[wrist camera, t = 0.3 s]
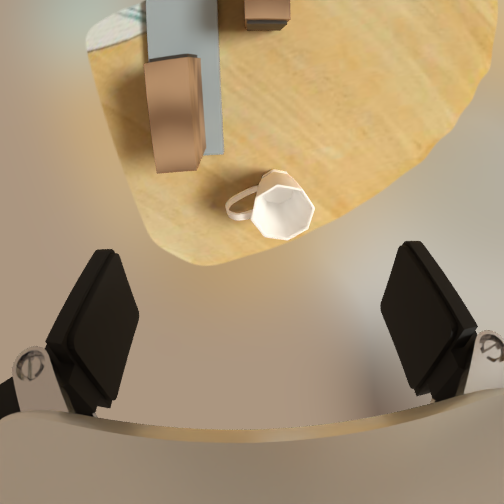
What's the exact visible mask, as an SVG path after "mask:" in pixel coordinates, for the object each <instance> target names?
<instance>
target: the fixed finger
mask: <svg viewBox="0 0 504 504" xmlns="http://www.w3.org/2000/svg"><path fill="white" fill-rule="evenodd" d="M144 72H145V83H146V94H147V103H148V112H149V121H150V129H151V136H152V144H153V151H154V158H155V164H156V171H157V174H158V173H169V172H182V171H196V170H197V168H198V166H199V164H200V161H201V159H202V156H203V154H204V152H205V149H206V136H205V122H204V108H203V92H202V76H201V58H197V55H195V54H179V55H172V56H165V57H158V58H152V59H149V63H145V64H144Z"/></svg>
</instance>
